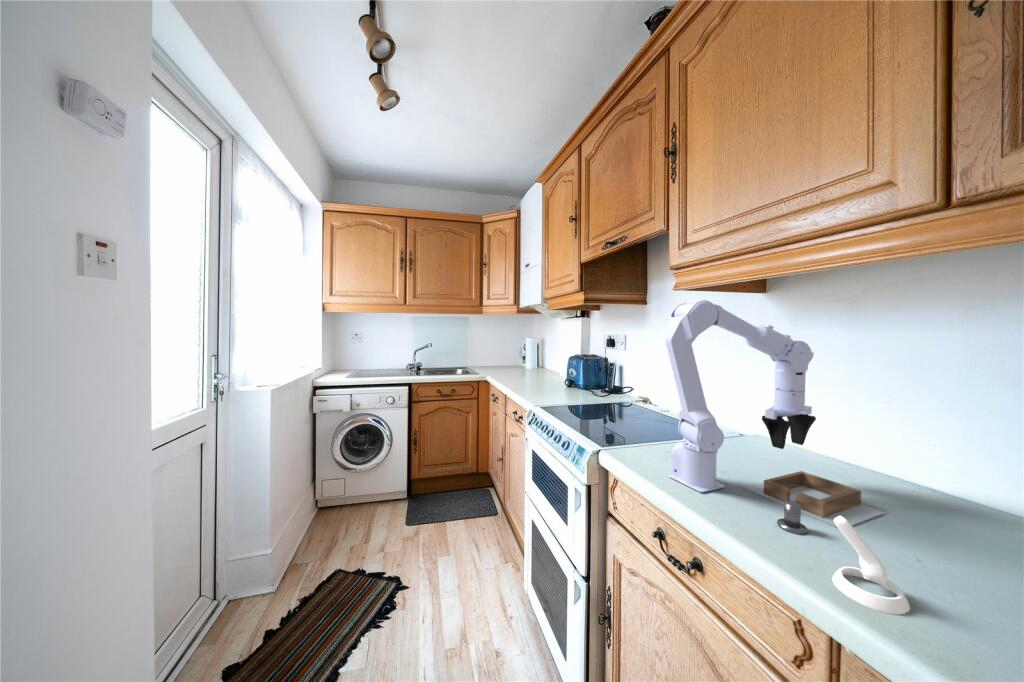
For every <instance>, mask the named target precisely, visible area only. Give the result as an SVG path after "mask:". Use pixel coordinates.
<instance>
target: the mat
mask: <svg viewBox="0 0 1024 682" xmlns="http://www.w3.org/2000/svg"><path fill="white" fill-rule="evenodd" d="M745 489H746V490H747V491H750V492H753V493H755V494H757V495H759V496H762V497H764V498H767V499H769V500H772V501H773V502H776V503H778V504H780V505H783V506H784V503H785V502H783V501H781V500H778V499H776V498H774V497H771V496H769V495H766V494H764V482H763V483H758V484H754V485H751V486H746V487H745ZM796 492H801V493H803V494H806V495H809V496H811V497H814V498H817V499H819V500H820V499H824V498H827V497H830V496H831V495H828V494H825V493H822V492H820V491H817V490H814V489H811V488H808V487H806V486H800V487H797V488H793V489H790V501H791V502H795V497H796ZM801 514H804V515H807V516H809V517H812V518H814V519H816V520H817V521H821V522H823V523H826V524H827V525H830V526H833V527H835V528H837V529H839V528H838V527H837V526H836V524H835V523H834V518H836V517H837V516H842V517H844V518H845V519H846V520H847V521H848V522H849V523H850V524H851V525H852V527H854V526H857V525H859V524H862V523H864V522H867V521H869V520H873V519H875V518H878V517H880V516H882V515H885V512H884V511H881V510H878V509H876V508H872V507H869V506H867V505H864V504H861V505H858V506H855V507H853V508H850V509H847V510H844V511H841V512H838V513H835V514H832V515H829V516H827V517H824V518H821V517H819V516H817V515H814V514H812V513H809V512H807V511H805V510H802V509H801Z"/></svg>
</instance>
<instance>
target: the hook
mask: <svg viewBox="0 0 1024 682" xmlns="http://www.w3.org/2000/svg"><path fill="white" fill-rule="evenodd" d="M834 523H835V524H836V526H837V527H838V528H837V527H836V528H837V529H838V530H839V531H840V532H841V533H842V535H843V536H844V538H845V539H846V540H847V541H848V542H849V544H850V545H851V546H852V548H853V549H854V550H855V551H856V553H857V554H858V563H859V566H860V568H859V567H854V566H842V567H840V568H838V569H837V570H836V571H835V572H834V574H833V575H832V578H831V580H832V583H833V585H834V586H835V587H836V588H837V590H839V591H840V592H841V593H843V595H845V596H847V597H848V598H849V599H851V600H853V601H854V602H857V603H858V604H860V605H862V606H865V607H868V608H869V609H872V610H875V611H877V612H881V613H885V614H890V615H894V616H895V615H897V616H899V615H900V616H902V615H901V614H903V615H906V614H905V613H906V612H908V611H909V610H910V611H911V606H910V603H909V601H908V600H907V596H906V595H905V593H904V592H903V591H902V590H901V587H899V586H897V585H896V584H895V583H894V582H892V581H890V580H889V579H888V571H887V569H886V567H885V565H884V564H883V563H882V561H881V560H880V559H879V557H878V556H877V555H876V554H875V552H873V550H872V549H871V548H870V546H869V545H868V544H867V543H866V541H865V540H864V539H863V538H862V537H861V536H860V535H861V534H859V533H858V532H857V530H856V529H855V528H854V526H852V525H851V524H850V523H849V522H848V521H847V520H846V519H845V518H844V517H842V516H837V517H836V518H834ZM845 576H851V577H856V578H861V579H863V580H867V581H870V582H873V583H874V584H876V585H879V586H881V587H883V588H885V589H887V590H888V591H889V592H891V593H893V594H895V595H896V596H895V597H888V596H882V595H879V594H874V593H872V592H869V591H867V590H864V589H862V588H860V587H858V586H857V585H855V584H853V583H851V582H850V581H849V580H848V579H846V577H845ZM910 611H909V612H910ZM909 612H908V613H909Z"/></svg>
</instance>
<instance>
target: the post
mask: <svg viewBox="0 0 1024 682" xmlns="http://www.w3.org/2000/svg"><path fill="white" fill-rule="evenodd" d="M783 506H784V509H783V510H784V511H783V513H784V514H783V518H779V519H777V521H776V524H777V526H778V527H779V528H780V529H782V530H783V531H786V532H788V533H791V534H795V535H807V533H808V527H807V526H805V524H803V523H801V519H802V518H801V517H802V516H801V515H802V512H801V505H799V504H798V503H795V502H791V501H785V503H784V505H783Z"/></svg>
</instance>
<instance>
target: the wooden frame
mask: <svg viewBox="0 0 1024 682" xmlns="http://www.w3.org/2000/svg"><path fill="white" fill-rule="evenodd" d="M763 483H764V494H766V495H769V496H771V497H774V498H776V499H778V500H781V501H783V502H785V501H790V489H793V488H797V487H800V486H806V487H808V488H811V489H814V490H817V491H820V492H822V493H825V494H828V495H831V496H830V497H827V498H824V499H820V500H819V499H817V498H814V497H811V496H809V495H806V494H803V493H801V492H796V497H795V503H798V504H799V505H801V509H802V510H805V511H807V512H809V513H812V514H814V515H817V516H819V517H821V518H824V517H827V516H829V515H832V514H835V513H838V512H841V511H844V510H847V509H850V508H853V507H855V506H858V505H862V490H861V489H857V488H854V487H851V486H848V485H846V484H843V483H839V482H836V481H833V480H830V479H827V478H823V477H820V476H817V475H815V474H812V473H809V472H806V471H803V470H801V471H795V472H793V473H787V474H784V475H783V474H782V475H780V476H776V477H772V478H767V479H764V480H763Z"/></svg>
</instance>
